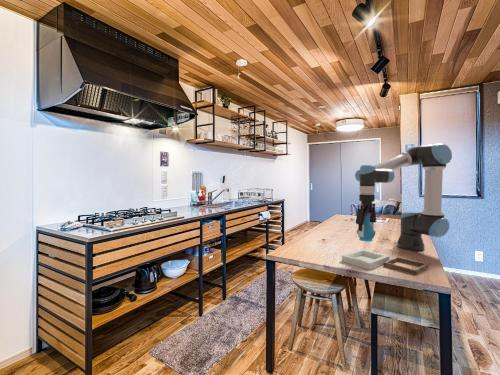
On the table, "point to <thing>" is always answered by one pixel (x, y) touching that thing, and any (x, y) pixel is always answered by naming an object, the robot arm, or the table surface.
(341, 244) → the table surface
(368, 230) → the teal vase
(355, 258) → the tray
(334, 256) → the table surface
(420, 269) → the frame
